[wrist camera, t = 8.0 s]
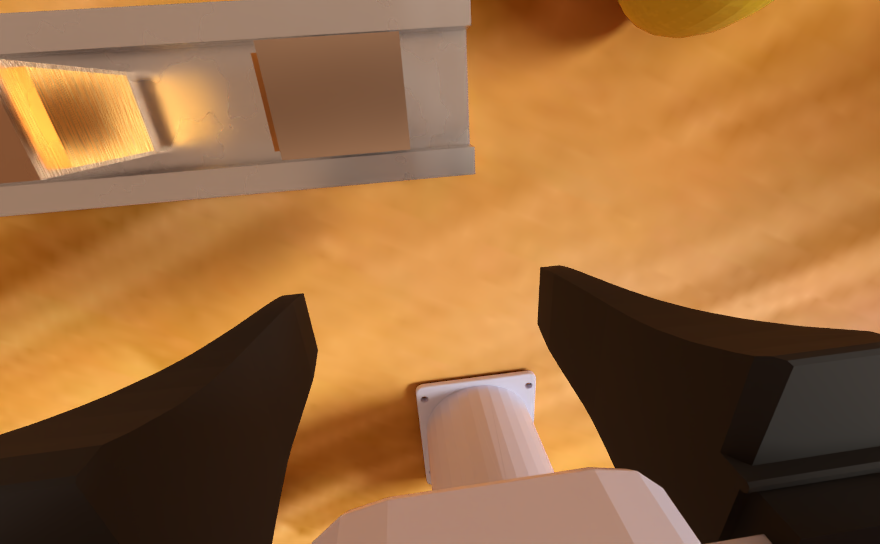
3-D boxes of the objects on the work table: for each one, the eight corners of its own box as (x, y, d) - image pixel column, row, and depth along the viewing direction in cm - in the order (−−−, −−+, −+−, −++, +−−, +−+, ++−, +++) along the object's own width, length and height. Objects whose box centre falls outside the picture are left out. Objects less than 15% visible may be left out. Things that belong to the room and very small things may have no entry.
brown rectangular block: (405, 133, 17) (410, 149, 12) (309, 141, 17) (269, 161, 12) (397, 54, 16) (398, 31, 11) (292, 61, 16) (238, 40, 10)
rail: (467, 166, 19) (501, 199, 13) (4, 207, 17) (-207, 266, 11) (461, 0, 16) (502, -61, 10) (-98, 32, 14) (-460, -18, 8)
